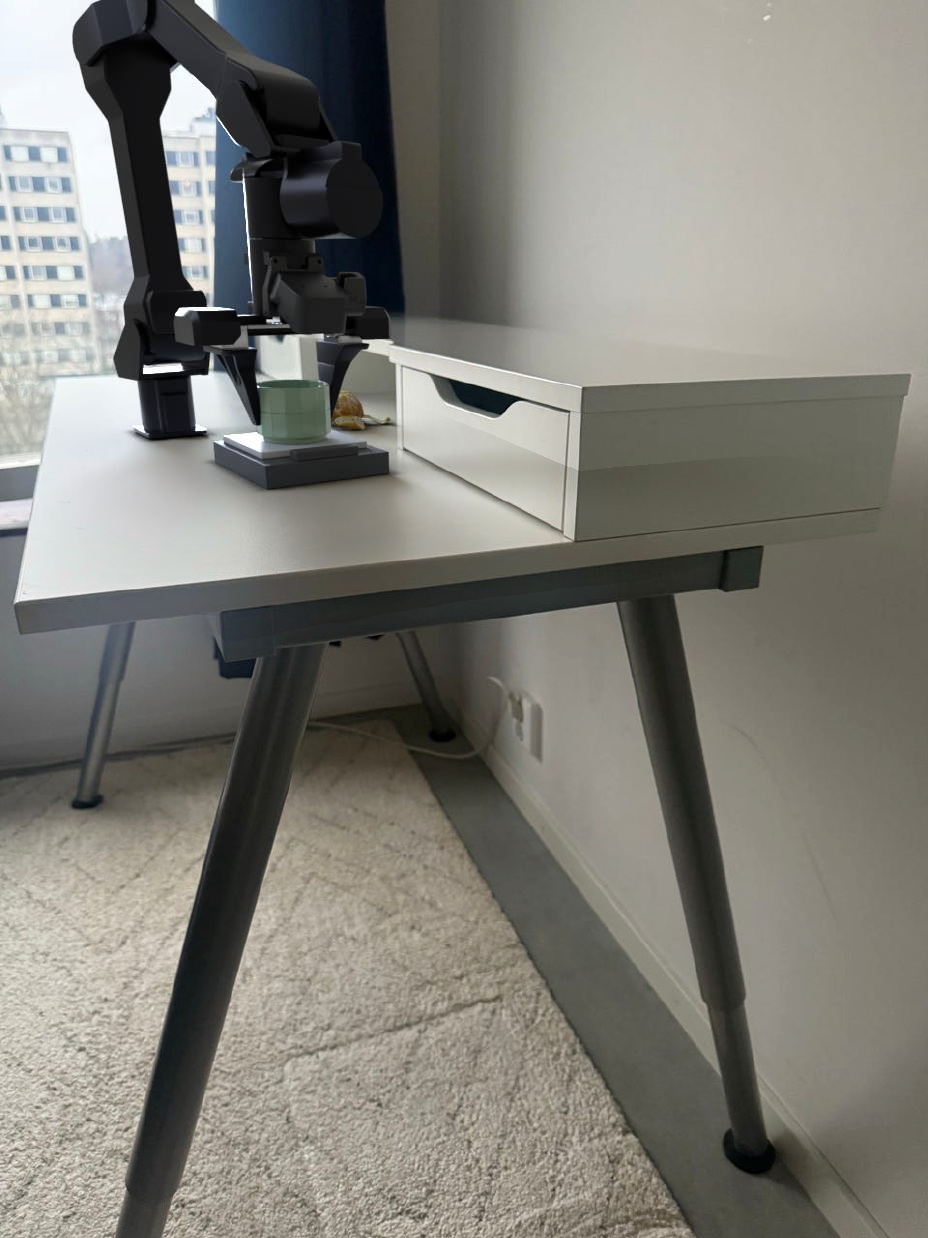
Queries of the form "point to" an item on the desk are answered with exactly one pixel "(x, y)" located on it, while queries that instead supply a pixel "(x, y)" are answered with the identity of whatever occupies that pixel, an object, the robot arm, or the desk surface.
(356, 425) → the fruit
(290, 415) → the bowl
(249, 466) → the scale
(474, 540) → the desk surface
